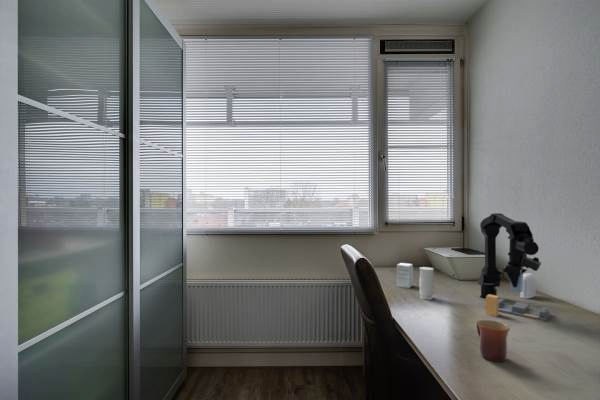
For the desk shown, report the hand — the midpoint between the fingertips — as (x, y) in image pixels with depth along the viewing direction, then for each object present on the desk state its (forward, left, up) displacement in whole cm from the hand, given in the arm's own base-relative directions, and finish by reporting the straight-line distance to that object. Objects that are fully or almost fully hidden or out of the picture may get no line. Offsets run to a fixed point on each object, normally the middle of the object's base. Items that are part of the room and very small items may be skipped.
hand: (516, 286), depth 147 cm
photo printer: (-2, +36, -13) cm, 38 cm away
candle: (-38, -4, -13) cm, 41 cm away
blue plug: (0, 0, -2) cm, 2 cm away
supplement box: (-57, +10, -13) cm, 59 cm away
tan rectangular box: (-7, -7, -12) cm, 16 cm away
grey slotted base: (+1, +5, -12) cm, 13 cm away
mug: (+4, -51, -13) cm, 53 cm away
